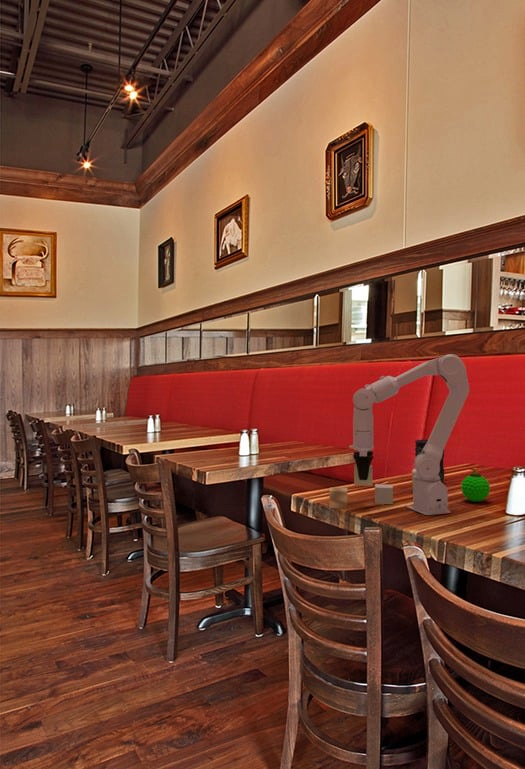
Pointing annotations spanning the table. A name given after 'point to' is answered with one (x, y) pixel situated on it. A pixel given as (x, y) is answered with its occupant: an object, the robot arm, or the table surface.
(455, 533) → the table surface
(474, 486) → the ornament
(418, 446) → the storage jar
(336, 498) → the birch block
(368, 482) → the sage block
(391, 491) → the white cube
